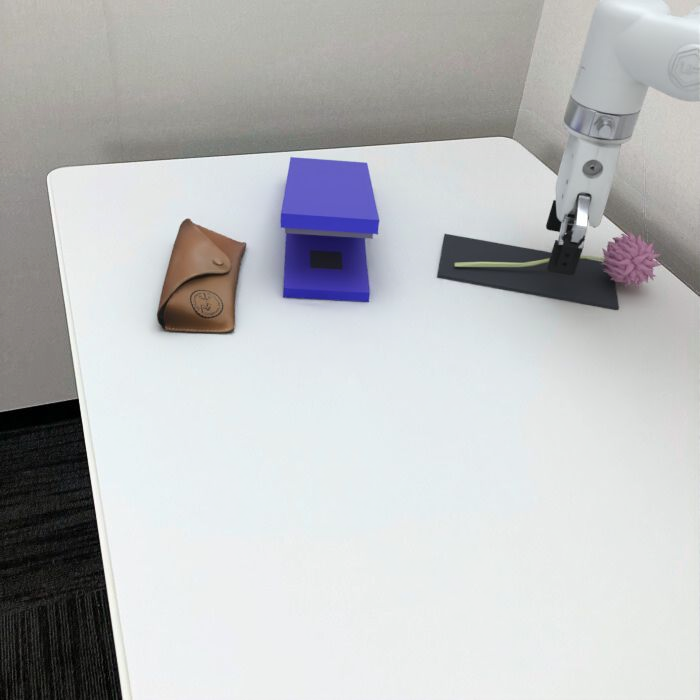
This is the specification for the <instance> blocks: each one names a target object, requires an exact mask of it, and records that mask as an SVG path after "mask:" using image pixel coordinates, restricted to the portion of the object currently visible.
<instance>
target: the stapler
mask: <svg viewBox="0 0 700 700" xmlns="http://www.w3.org/2000/svg"><path fill="white" fill-rule="evenodd" d="M287 169H288V170H287V174H286V175H287V176H286V181H285V186H284V194H283V199H282V205H281V211H280V226H279V227H280V228H281V229H284V234H285V243H284V244H285V245H284V263H283V266H284V267H283V286H282V288H283V289H282V298H285V299H286V298H289V299H307V300H325V301H342V302H343V301H347V302H362V303H363V302H364V303H365V302H366V303H369V302H370V296H371V289H370V280H369V269H368V258H367V249H366V239H373V238H374V235H379V226H380V217H379V213H378V208H377V203H376V199H375V193H374V189H373V183H372V179H371V174H370V169H369V165H368V162H364V161H363V162H362V161H350V160H349V161H348V160H336V159H334V160H333V159H323V158H322V159H321V158H309V157H294V156H290V157H289V163H288V168H287Z"/></svg>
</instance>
